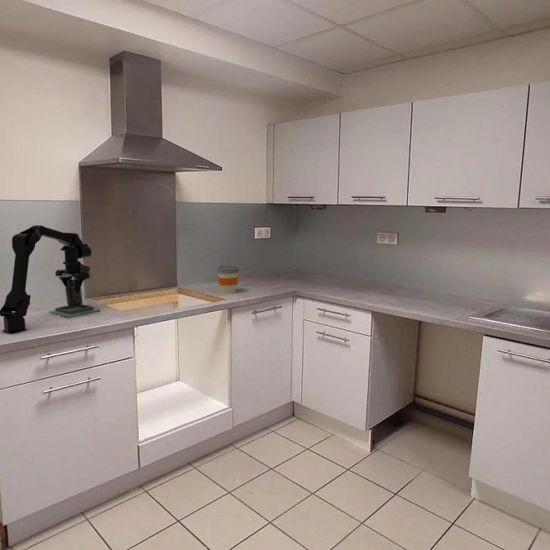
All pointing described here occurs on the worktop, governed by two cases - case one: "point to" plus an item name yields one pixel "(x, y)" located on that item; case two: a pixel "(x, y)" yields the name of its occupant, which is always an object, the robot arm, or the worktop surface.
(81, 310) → the dock board
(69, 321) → the worktop surface
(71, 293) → the supplement bottle
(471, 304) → the worktop surface
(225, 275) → the reusable coffee cup
